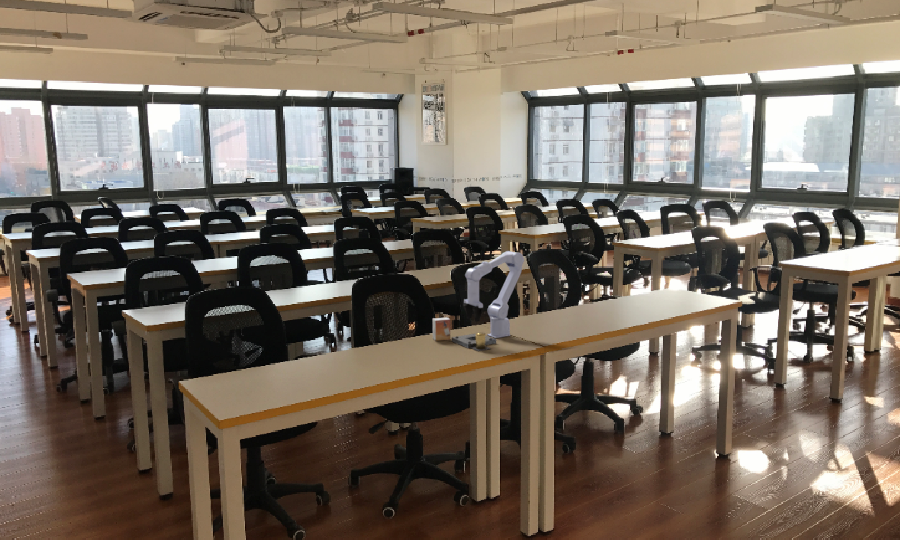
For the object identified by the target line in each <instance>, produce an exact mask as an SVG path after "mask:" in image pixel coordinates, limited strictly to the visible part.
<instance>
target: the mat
mask: <svg viewBox="0 0 900 540" xmlns="http://www.w3.org/2000/svg"><path fill="white" fill-rule="evenodd" d="M469 349H472V350H474V351H476V352H483V351H488V350H492V348H491V347H488V346H487V345H485V349H476V347H470V348H469Z"/></svg>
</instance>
